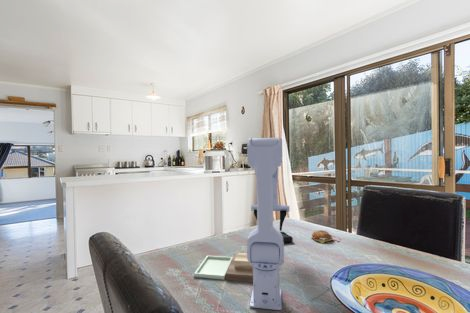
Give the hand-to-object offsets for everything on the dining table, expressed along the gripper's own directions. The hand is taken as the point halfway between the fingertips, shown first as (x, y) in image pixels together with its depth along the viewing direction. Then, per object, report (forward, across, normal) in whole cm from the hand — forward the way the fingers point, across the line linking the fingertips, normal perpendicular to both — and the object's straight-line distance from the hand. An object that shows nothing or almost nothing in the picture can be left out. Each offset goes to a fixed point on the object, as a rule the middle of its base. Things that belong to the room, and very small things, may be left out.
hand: (270, 229), depth 93 cm
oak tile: (+8, +8, +13) cm, 18 cm away
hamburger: (+11, -24, -21) cm, 33 cm away
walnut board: (+10, +9, +13) cm, 19 cm away
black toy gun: (+11, +2, -18) cm, 21 cm away
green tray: (+10, +19, +13) cm, 25 cm away
